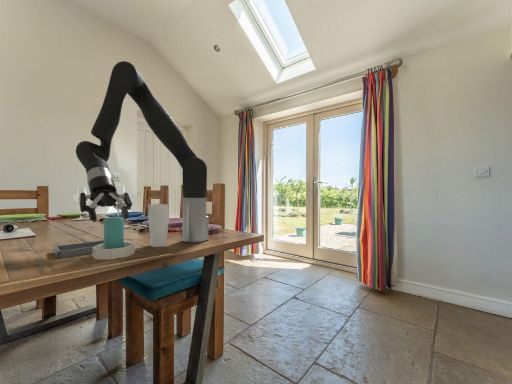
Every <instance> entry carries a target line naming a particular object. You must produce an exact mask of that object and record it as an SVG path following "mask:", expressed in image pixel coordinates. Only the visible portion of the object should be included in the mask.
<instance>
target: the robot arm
mask: <svg viewBox="0 0 512 384" xmlns="http://www.w3.org/2000/svg"><path fill="white" fill-rule="evenodd" d="M127 95H128V96H129V97H130V98H131V99H132V101H134V103H135V104H136V105H137V106H138V108H139V110H140V111H141V112H140V113H142V116H143V118H144V120H145V122H146V123H147V126H148V127H149V128H150V129H151V132H153V134H154V135H155V137H156V138H157V139H158V140H159V141H160V142H161V144H162V145H163V146H164V147H165V148H166V149H167V150H168V151H169V152H170V153H171V154H172V155H173V157H174V158H175V159H176V161H177V162H178V164H179V166H180V167H181V169H182V175H181V176H182V177H181V179H182V182H181V183H182V186H181V187H182V242H184V243H200V242H205V241H207V240H209V216H208V215H207V199H208V198H207V195H208V190H207V189H208V187H207V185H208V166H207V163H206V162H205V161H204V160H203V158H201V157H199V156H198V155H197V154H196V153H195V152H194V151H193V149H192V148H191V147H190V145H189V143H188V142H187V140H186V138H185V136H184V135H183V132H182V130H181V129H180V127H179V126H178V123H176V121H175V120H174V118H173V117H172V115H170V113H169V112H168V110H167V109H166V108H165V107H164V106H163V105H162V104H161V103H160V102H159V101H158V100H157V98H156V97H155V96H154V94H153V93H152V91H151V89H150V88H149V86H148V84H147V83H146V81H145V78H144V77H143V75H142V73H140V71H139V70H138V69H137V68H136V66H134V65H133V64H132V63H131V62H129V61H125V60H124V61H123V60H122V61H118V62H117V63H116V64H114V66H113V67H112V70H111V74H110V77H109V81H108V86H107V90H106V92H105V96H104V99H103V102H102V104H101V105H102V106H101V108H100V110H99V113H98V115H97V118H96V119H95V122H94V124H93V125H92V128H91V131H90V134H91V136H93V137H95V138H96V139H98V140H99V142H100V145H99V144H96V143H94V142H91V141H87V140H83V141H80V142H79V143H78V144H77V145H76V148H75V154H76V158H77V159H78V161H79V162H80V163H81V165H82V166H83V167H84V169H85V171H86V172H85V173H86V180H87V185H88V188H89V189H88V190H89V193H90V194H86V193H85V192H80V193H79V198H78V199H79V210H80V212H81V213H85V212H87V213H88V217H89V220H90V221H92V222H93V223H95V222H97V217H98V216H97V211H96V210H97V209H98V208H99V207H101V208H102V207H104V208H105V207H110V208H111V207H114V208H115V209H118V210H120V211H121V215H122V216H121V217H124V221H125V220H127V218H129V215H130V213H129V210H131V209H132V206H133V202H132V200H131V197H130V195H129V193H128V192H124V193H123V194H121V193H120V194H119V193H118V192H117V191H118V190H117V188H116V185H115V181H114V178H113V175H112V173H111V171H110V168H109V164H108V163H107V162H108V161H109V159H110V155H111V146H112V141H113V137H114V135H115V132H116V131H117V129H118V126H119V125H120V119H121V115H122V114H121V113H122V108H123V103H124V100H125V98H126V96H127ZM88 200H90V201H91V203H90V204H89V205H87V201H88Z"/></svg>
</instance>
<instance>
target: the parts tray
mask: <svg viewBox="0 0 512 384" xmlns="http://www.w3.org/2000/svg"><path fill="white" fill-rule="evenodd" d="M103 243H104V239H103V240H96V241H94V240H93V241H86V242H77V243H69V244H60V245H53V254H54V256H55V258H57V259H65V258H71V257H77V256H79V257H80V256H85V255H92V247H93V246H96V245H99V244H103Z"/></svg>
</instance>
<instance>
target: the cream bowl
mask: <svg viewBox="0 0 512 384" xmlns="http://www.w3.org/2000/svg"><path fill="white" fill-rule="evenodd" d="M135 253H136V243H134V242H131V241H124V247H122V248H115V249H104V243H103V244H99V245H96V246H93V247H92V254H91V256H92V258H93V259H94V260H117V259H123V258H127V257H130V256H132V255H134V254H135Z"/></svg>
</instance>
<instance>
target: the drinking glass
mask: <svg viewBox="0 0 512 384" xmlns="http://www.w3.org/2000/svg"><path fill="white" fill-rule="evenodd" d="M169 206H170V204H168V203H152V204H150V203H149V204H148V209H147V210H148V212H147V213H148V215H147V217H148V224H149V225H148V227H149V229H148V230H149V241H150V243H149V244H150V247H153V248H157V247H158V248H160V247H162V248H165V247H166V246H167V243H168V242H167V241H168V238H167V237H168V229H169V218H170V217H169V216H170V207H169Z"/></svg>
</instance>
